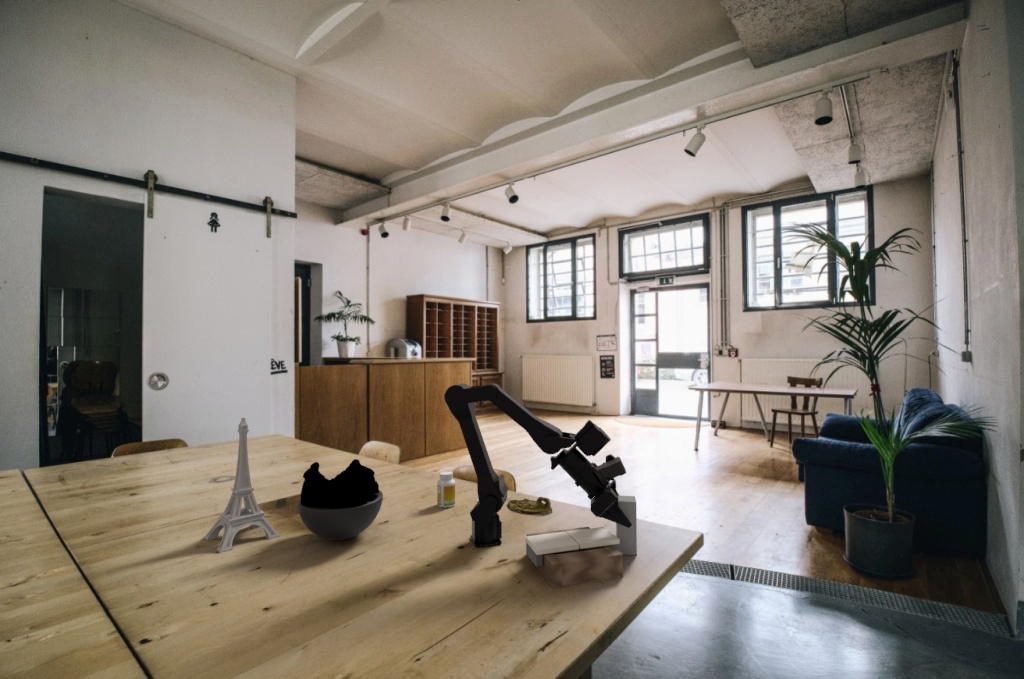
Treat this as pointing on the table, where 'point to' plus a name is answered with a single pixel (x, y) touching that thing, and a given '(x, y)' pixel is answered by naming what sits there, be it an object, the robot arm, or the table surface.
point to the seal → (531, 506)
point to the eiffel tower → (240, 502)
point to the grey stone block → (624, 533)
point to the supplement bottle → (446, 490)
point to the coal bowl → (339, 501)
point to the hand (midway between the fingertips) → (629, 519)
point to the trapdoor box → (580, 564)
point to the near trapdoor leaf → (548, 545)
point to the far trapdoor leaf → (594, 538)
